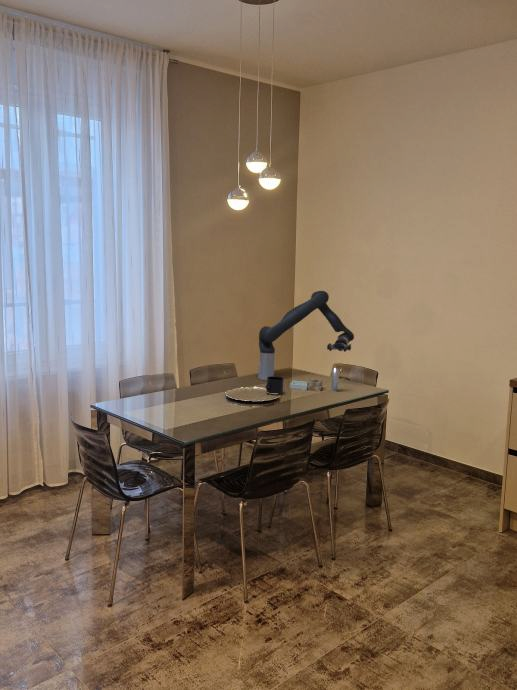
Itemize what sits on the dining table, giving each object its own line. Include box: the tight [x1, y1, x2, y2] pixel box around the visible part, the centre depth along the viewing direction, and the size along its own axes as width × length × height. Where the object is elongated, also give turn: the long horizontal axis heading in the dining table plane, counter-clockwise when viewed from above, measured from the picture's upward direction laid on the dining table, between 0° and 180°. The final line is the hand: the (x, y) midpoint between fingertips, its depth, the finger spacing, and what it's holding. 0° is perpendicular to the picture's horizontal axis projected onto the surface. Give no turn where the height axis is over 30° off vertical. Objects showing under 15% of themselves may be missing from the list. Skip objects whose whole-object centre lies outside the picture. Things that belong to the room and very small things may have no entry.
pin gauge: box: [331, 365, 340, 392], centre depth 369 cm, size 4×4×15 cm
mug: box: [265, 375, 284, 395], centre depth 358 cm, size 9×12×9 cm
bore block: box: [306, 378, 323, 391], centre depth 373 cm, size 8×8×5 cm
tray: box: [289, 380, 308, 391], centre depth 375 cm, size 10×10×3 cm
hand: (337, 349), depth 375 cm, fingers open, 8 cm apart
